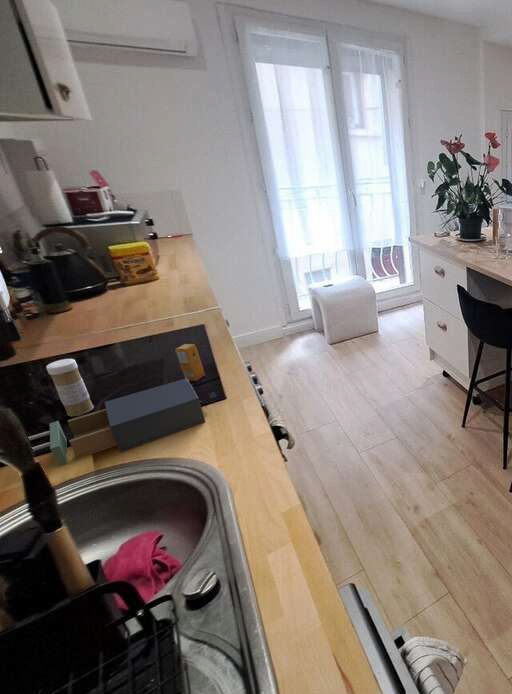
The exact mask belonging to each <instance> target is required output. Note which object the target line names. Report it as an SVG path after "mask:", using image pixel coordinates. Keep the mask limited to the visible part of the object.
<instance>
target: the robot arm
mask: <svg viewBox="0 0 512 694" xmlns="http://www.w3.org/2000/svg"><path fill="white" fill-rule="evenodd" d="M2 253H3V250H2V247H1V246H0V254H2ZM10 298H11V297H10V294H9V290H8V286H7V284H6V281H5V278H4V276H3V273H2V271H1V270H0V345H5V344H10V343H15V342H20V341H21V340H22V335H21V333H20V330H19V328H18V326H17V324H16V321H15V320H14V319H15V318H12V315H11V313H10V310H9V305H10V300H11V299H10Z"/></svg>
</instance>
